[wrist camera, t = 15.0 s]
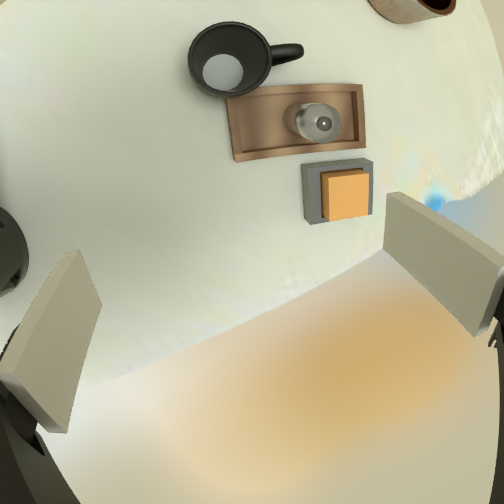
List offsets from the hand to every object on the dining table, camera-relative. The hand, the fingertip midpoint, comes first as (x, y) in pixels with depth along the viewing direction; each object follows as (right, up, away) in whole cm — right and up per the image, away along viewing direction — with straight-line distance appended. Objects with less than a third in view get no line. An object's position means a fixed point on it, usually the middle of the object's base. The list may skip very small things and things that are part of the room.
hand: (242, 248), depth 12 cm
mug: (-2, +23, +22) cm, 31 cm away
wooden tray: (+6, +17, +25) cm, 31 cm away
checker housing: (+12, +9, +31) cm, 34 cm away
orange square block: (+13, +8, +29) cm, 33 cm away
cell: (+6, +17, +25) cm, 31 cm away
